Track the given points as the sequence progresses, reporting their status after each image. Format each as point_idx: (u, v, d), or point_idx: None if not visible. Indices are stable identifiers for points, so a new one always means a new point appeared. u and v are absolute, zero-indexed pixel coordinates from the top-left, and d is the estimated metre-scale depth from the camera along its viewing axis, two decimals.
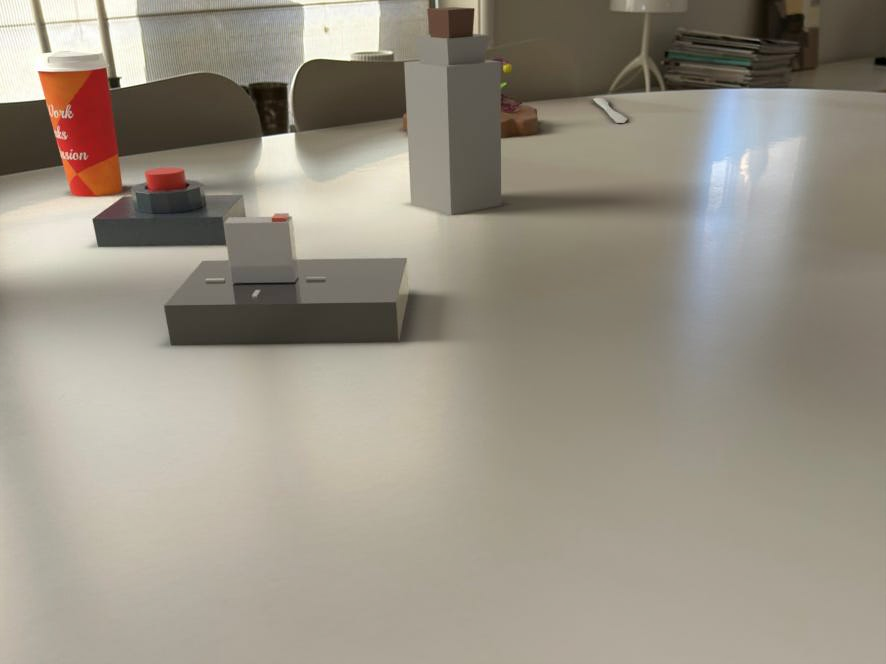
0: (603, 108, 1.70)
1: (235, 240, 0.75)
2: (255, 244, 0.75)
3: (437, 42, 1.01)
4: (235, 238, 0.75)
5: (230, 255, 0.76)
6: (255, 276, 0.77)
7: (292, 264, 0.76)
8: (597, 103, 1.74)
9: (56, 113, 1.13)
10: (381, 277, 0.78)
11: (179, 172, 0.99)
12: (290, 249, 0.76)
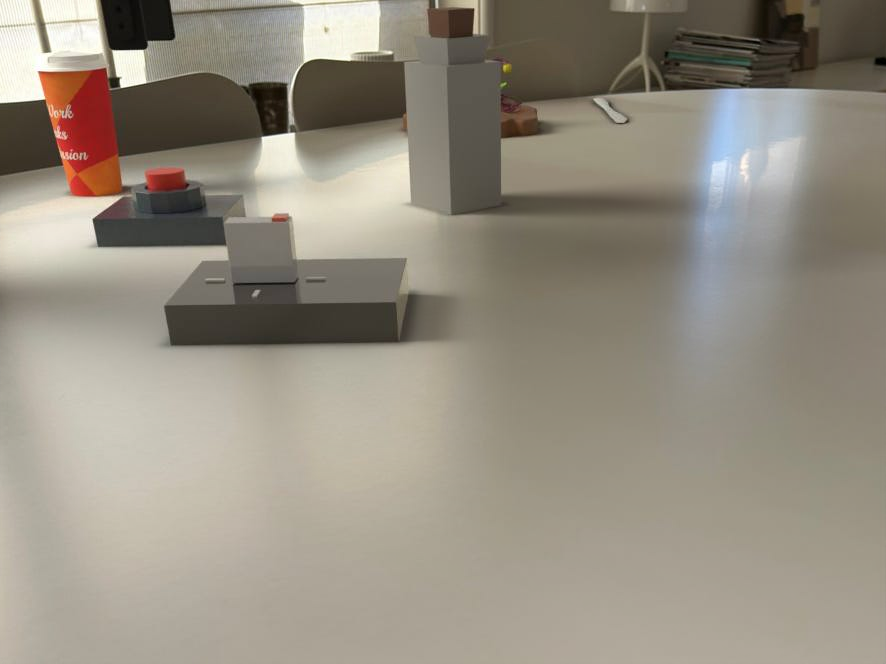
0: (603, 108, 1.70)
1: (235, 240, 0.75)
2: (255, 244, 0.75)
3: (437, 42, 1.01)
4: (235, 238, 0.75)
5: (230, 255, 0.76)
6: (255, 276, 0.77)
7: (292, 264, 0.76)
8: (597, 103, 1.74)
9: (56, 113, 1.13)
10: (381, 277, 0.78)
11: (179, 172, 0.99)
12: (290, 249, 0.76)
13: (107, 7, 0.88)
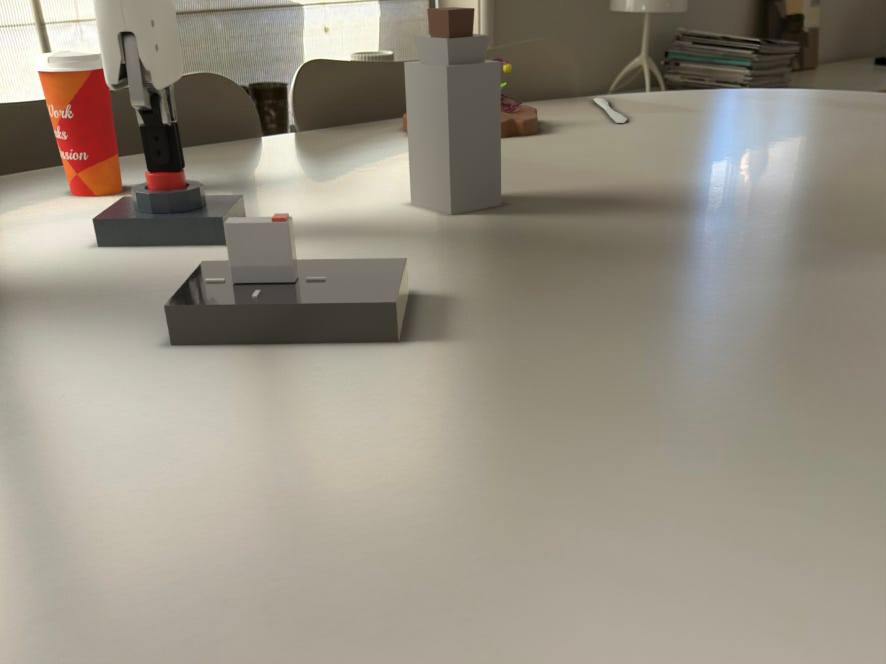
0: (603, 108, 1.70)
1: (235, 240, 0.75)
2: (255, 244, 0.75)
3: (437, 42, 1.01)
4: (235, 238, 0.75)
5: (230, 255, 0.76)
6: (255, 276, 0.77)
7: (292, 264, 0.76)
8: (597, 103, 1.74)
9: (56, 113, 1.13)
10: (381, 277, 0.78)
11: (179, 172, 0.99)
12: (290, 249, 0.76)
13: (146, 136, 0.97)
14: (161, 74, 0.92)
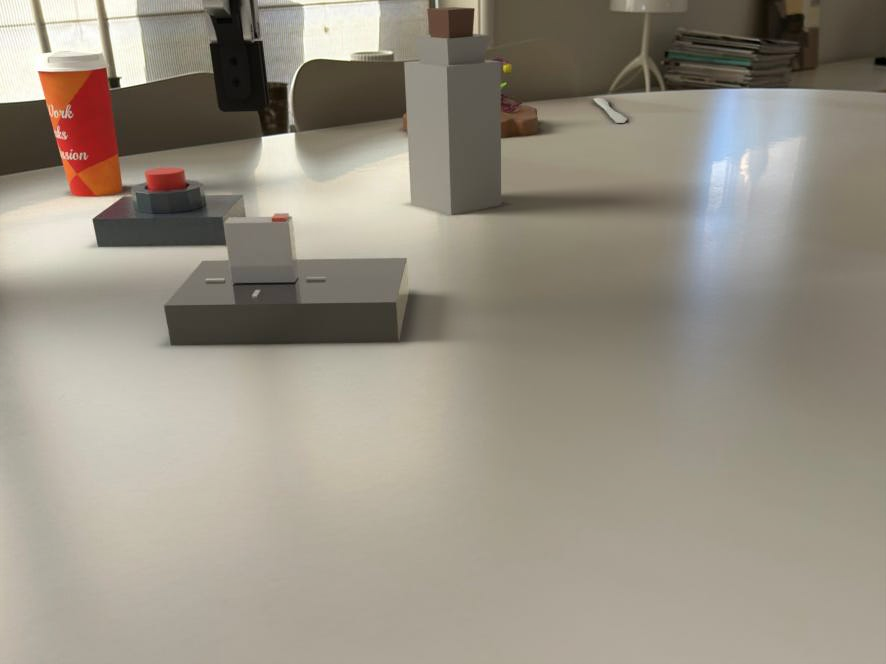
0: (603, 108, 1.70)
1: (235, 240, 0.75)
2: (255, 244, 0.75)
3: (437, 42, 1.01)
4: (235, 238, 0.75)
5: (230, 255, 0.76)
6: (255, 276, 0.77)
7: (292, 264, 0.76)
8: (597, 103, 1.74)
9: (56, 113, 1.13)
10: (381, 277, 0.78)
11: (179, 172, 0.99)
12: (290, 249, 0.76)
13: (218, 58, 0.69)
14: None
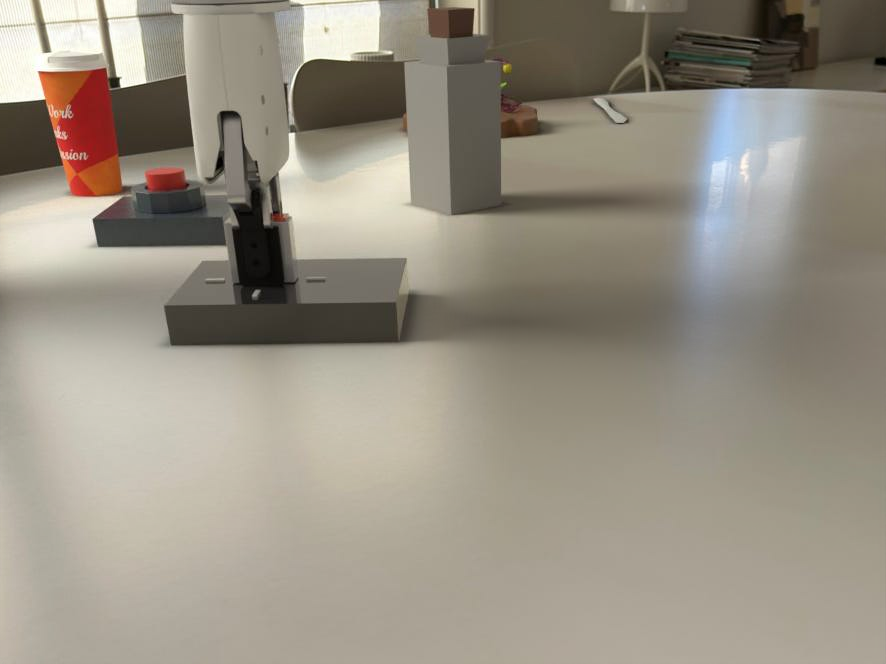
0: (603, 108, 1.70)
1: None
2: None
3: (437, 42, 1.01)
4: None
5: (230, 255, 0.76)
6: None
7: (292, 264, 0.76)
8: (597, 103, 1.74)
9: (56, 113, 1.13)
10: (381, 277, 0.78)
11: (179, 172, 0.99)
12: (290, 249, 0.76)
13: (240, 241, 0.75)
14: (270, 164, 0.70)
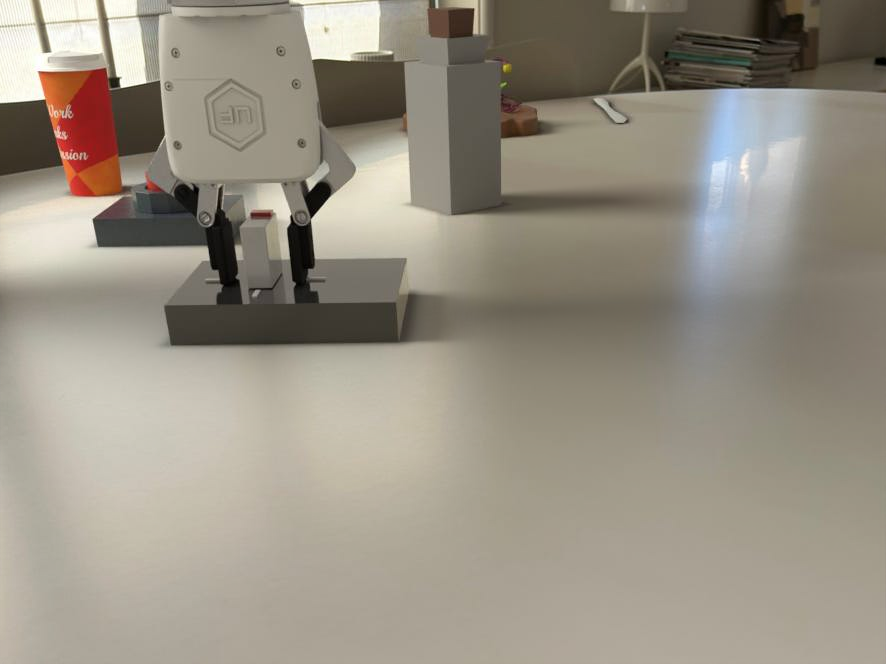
0: (603, 108, 1.70)
1: (268, 242, 0.75)
2: (272, 242, 0.76)
3: (437, 42, 1.01)
4: (268, 240, 0.74)
5: (269, 259, 0.75)
6: (275, 274, 0.77)
7: (280, 253, 0.79)
8: (597, 103, 1.74)
9: (56, 113, 1.13)
10: (381, 277, 0.78)
11: None
12: (278, 239, 0.78)
13: (298, 238, 0.75)
14: None
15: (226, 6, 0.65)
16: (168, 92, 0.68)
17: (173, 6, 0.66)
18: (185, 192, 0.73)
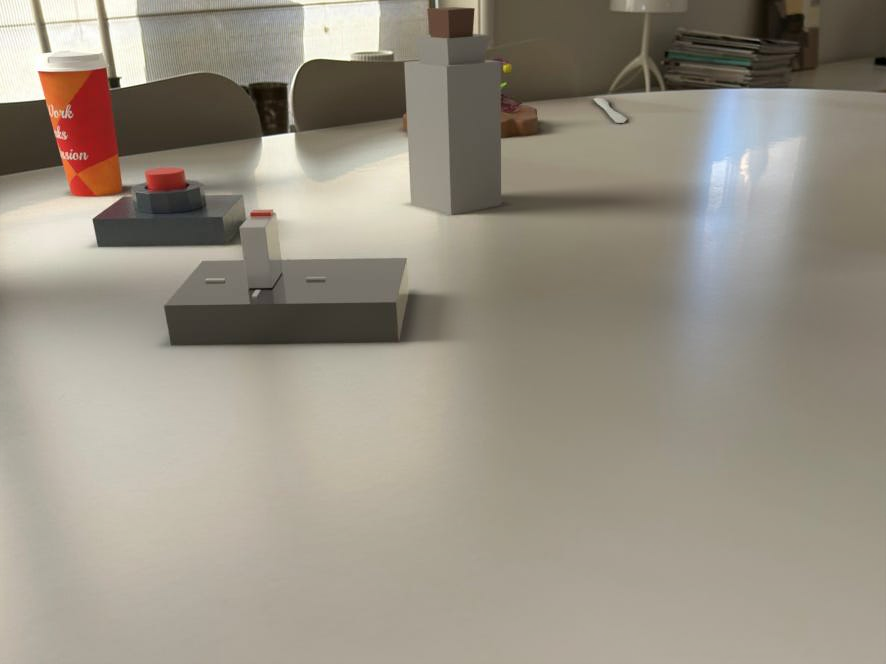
0: (603, 108, 1.70)
1: (268, 242, 0.75)
2: (272, 242, 0.76)
3: (437, 42, 1.01)
4: (268, 240, 0.74)
5: (269, 259, 0.75)
6: (275, 274, 0.77)
7: (280, 253, 0.79)
8: (597, 103, 1.74)
9: (56, 113, 1.13)
10: (381, 277, 0.78)
11: (179, 172, 0.99)
12: (278, 239, 0.78)
13: None
14: None
15: None
16: None
17: None
18: None
